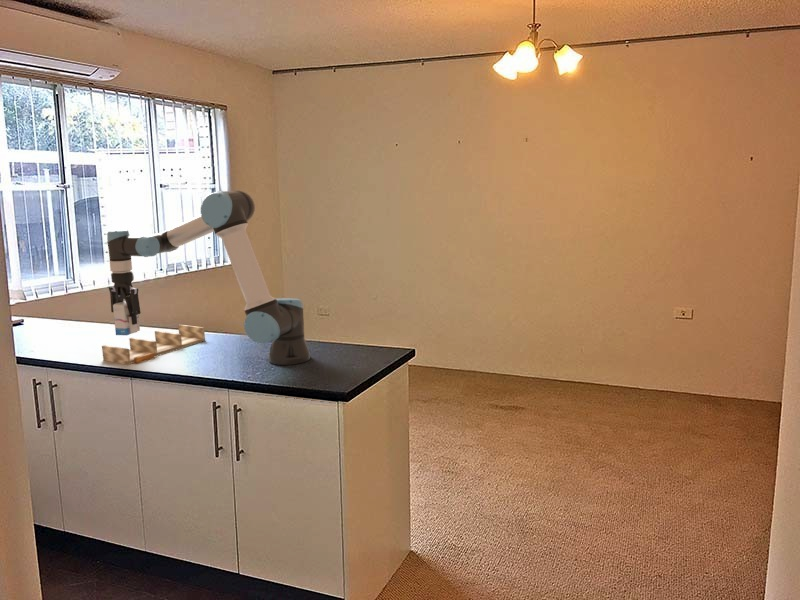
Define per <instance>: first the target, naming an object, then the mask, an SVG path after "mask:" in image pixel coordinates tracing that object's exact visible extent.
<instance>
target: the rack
mask: <svg viewBox="0 0 800 600" xmlns="http://www.w3.org/2000/svg"><path fill="white" fill-rule="evenodd" d="M154 337H155V338H154V339H155V340H150V339H144V338H137V337H136V338H135V337H129V338H128V340H129V347H130V348H126V347H125V348H124V347H119V346H118V347H117V346H112V345H106V344H105V345H104V344H103V345H101V352H102V359H103V361H105V362H109V363H110V362H111V363H117V364H121V365H122V364H123V365H129V366H130V365H133V364H140V363H143V362H146V361H148V360H152V359H155V358H156V357H157V355H158V356H160V354H161V355H164V354H167V353H166V352H168V353H170V351H171V352H173V350H174V351H177V350H180V349H183V348H182V347H184V348H186V346H187V347H190V346H193V345H196V344H198V343H199V342H200V343H203V342H206V334H205V327H204V326H202V327H201V326H194V325H188V324H187V325H186V324H178V333H174V332H167V331H162V330H161V331H160V330H155V331H154ZM202 341H203V342H202ZM200 343H199V344H200ZM192 344H193V345H192ZM189 345H190V346H189ZM179 348H180V349H179ZM176 349H177V350H176ZM163 353H164V354H163Z"/></svg>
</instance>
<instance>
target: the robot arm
mask: <svg viewBox="0 0 800 600" xmlns="http://www.w3.org/2000/svg"><path fill="white" fill-rule="evenodd" d="M255 209H256V205H255V201H254V199H253V198H252V196H251V195H250V194H248V193H247V192H245V191H242V190H226V191H225V190H224V191H223V190H220V191H219V190H218V191H215V192H212V193H209V194H207V195H206V196H205V197H204V198H203V200H202V203H201V206H200V214H199V215H197V216H195V217H193V218H191V219H188V220H186V221H184V222H182V223H179V224H177V225H175V226H172V227H170V228H168V229H167V230H164V231H162V232H158V233H151V234H143V235H130V232H129V230H128V229H112V230H108V231H107V234H106V237H107V238H106V239H107V242H106V243H107V247H108V255H109V256H108V257H109V269H110V270H109V271H110V272H111V273H110V277H111V278H110V279H111V283H113V284H114V285H113V286H109V287H108V290H109V295H110V297H109V298H110V310H111V313H113V314H114V311H113V305H114V304H116V303H120V302H124V301H126V304H127V306H128V310H129V314H130V315H129V327H130V333H131V334H136V333H138V331H137V315H140V314H141V312H142V311H141V308H140V300H139V299H140V298H139V288H138V287H133V285H132V282H134V272H133V271H132V270H133V264H132V257H144V258H148V257H155V256H156V255H159V254H162V253H171V252H173V251H176V250H178V248H179V247H181V246H183V245H185V244H188V243H190V242H193V241H195V240H197V239H200V238H202V237H205V236H207V235H209V234H212V233H214V235H215V236H216V237H218V238H220V239H221V240H222V243H223V245H224V248H225V250H226V254H227V257H228V258H229V262H230V264H231V267H232V269H233V272H234V275H235V277H236V280H237V283H238V285H239V287H240V290H241V292H242V295H243V298H244V301H245V303H246V304H245V307H244V310H243V311H244V314H245V316H246V317H245V319H244V322H243V328H244V332H245V334H246V335H247V337H248V338H249V339H250V340H252V341H253V342H255V343H257V344H261V345H263V344H269V343H271V345H270V349H269V353H268V363H271V364H273V365H278V366H279V365H280V366H292V365H300V364H302V363H306V362H308V361H309V360H311V352H310V349H309V347H308V343H307V341H306V339H305V324H304V323H305V322H304V319H305V318H304V307H303V301H302V300H301V299H300V298H291V297H290V298H289V297H279V298H277V297H274V296H272V295H271V294H270V291H269V288H268V286H267V283H266V281H265V278H264V275H263V273H262V270H261V267H260V264H259V261H258V259H257V257H256V254H255V251H254V249H253V246H252V243H251V241H250V238H249V235H248V233H247V228H248V226H249V223H248V221H250V220H251V219H252V218H253V216H254V214H255V211H256V210H255ZM132 312H133V313H132ZM131 334H130V335H131Z"/></svg>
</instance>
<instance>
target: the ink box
mask: <svg viewBox="0 0 800 600" xmlns="http://www.w3.org/2000/svg"><path fill="white" fill-rule="evenodd" d="M113 311H114V312H113V317H114V318H113V320H114V328H115V329H114V330H115V335H116V336H128V335H131V333H130V327H129V315H130V314H129V310H128V306H127V304H126V301H125V300H123V302H120V303H116V304H114V305H113ZM132 313H133V312H132ZM139 315H140V314H138V315H137V332H139V331H141V328H140V317H139Z"/></svg>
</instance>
